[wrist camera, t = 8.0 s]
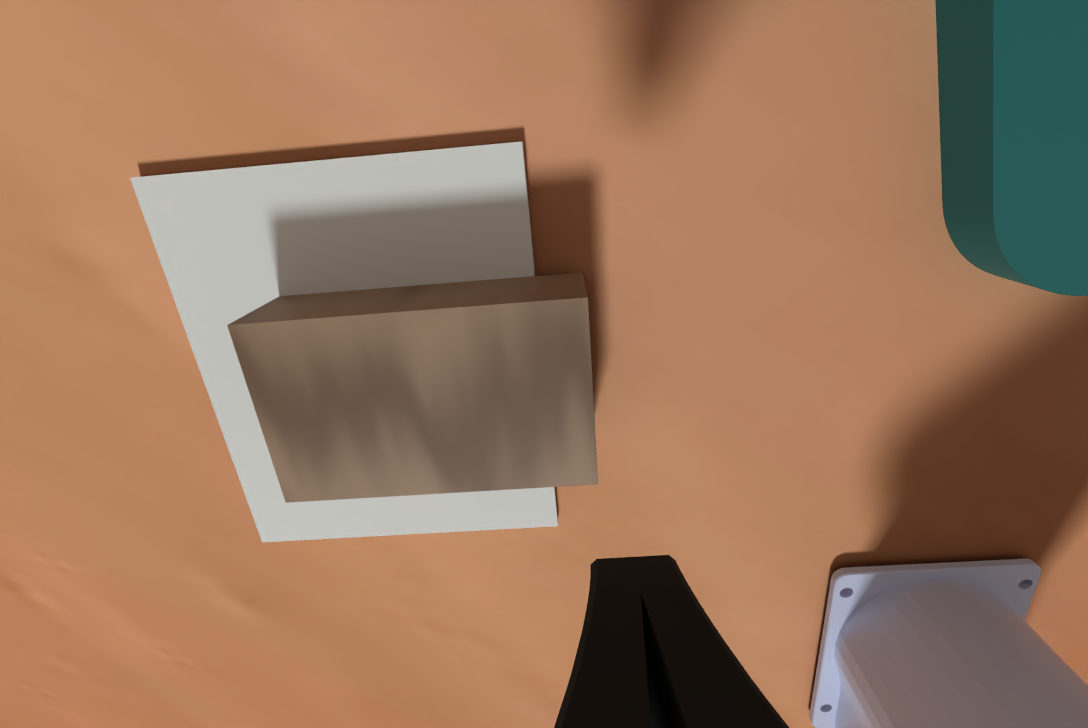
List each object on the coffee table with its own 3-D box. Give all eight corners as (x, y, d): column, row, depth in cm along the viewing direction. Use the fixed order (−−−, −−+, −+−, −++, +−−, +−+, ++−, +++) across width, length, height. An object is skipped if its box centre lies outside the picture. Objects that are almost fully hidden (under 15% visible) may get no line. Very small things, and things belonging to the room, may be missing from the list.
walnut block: (598, 484, 16) (285, 502, 17) (591, 435, 19) (323, 452, 20) (588, 297, 14) (226, 325, 15) (582, 272, 17) (279, 296, 17)
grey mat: (557, 519, 21) (557, 526, 21) (267, 535, 22) (262, 542, 21) (522, 141, 16) (521, 141, 15) (139, 177, 16) (129, 177, 16)
